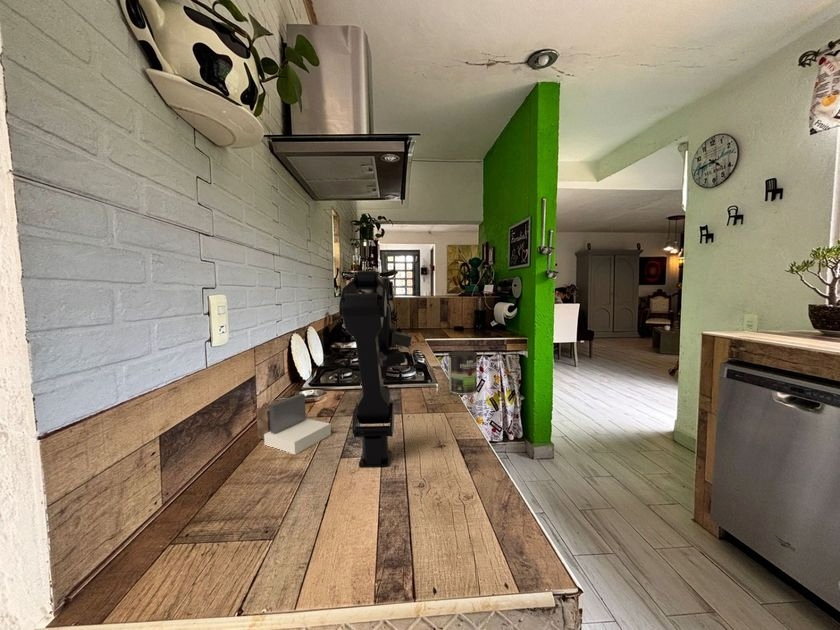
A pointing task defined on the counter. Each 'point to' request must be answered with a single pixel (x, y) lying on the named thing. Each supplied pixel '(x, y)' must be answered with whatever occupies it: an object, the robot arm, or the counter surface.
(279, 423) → the grey piece
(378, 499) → the counter surface
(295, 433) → the door block
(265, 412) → the block
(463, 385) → the transparent upright cylinder
